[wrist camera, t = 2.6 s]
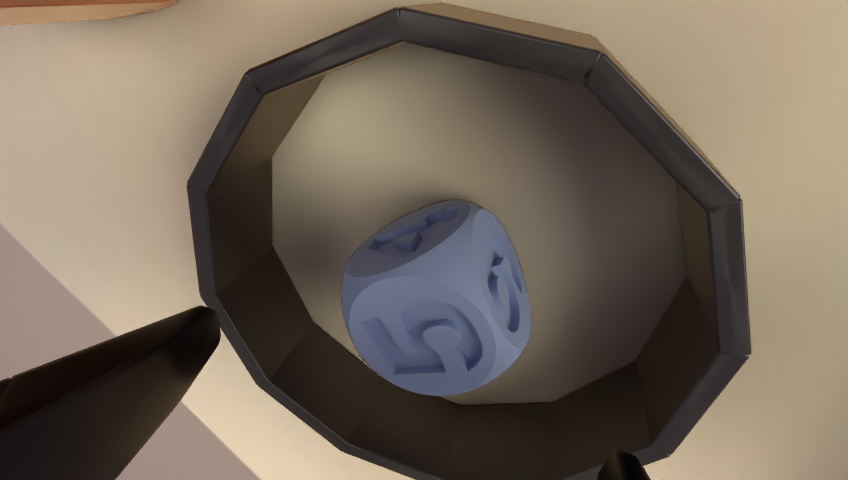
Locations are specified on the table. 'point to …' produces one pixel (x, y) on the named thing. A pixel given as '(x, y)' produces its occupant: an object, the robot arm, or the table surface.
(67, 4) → the terracotta cup
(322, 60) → the dark grey ring
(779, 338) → the table surface
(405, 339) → the decorative dice
